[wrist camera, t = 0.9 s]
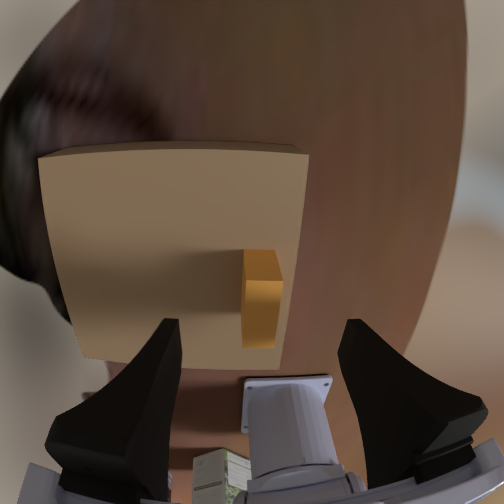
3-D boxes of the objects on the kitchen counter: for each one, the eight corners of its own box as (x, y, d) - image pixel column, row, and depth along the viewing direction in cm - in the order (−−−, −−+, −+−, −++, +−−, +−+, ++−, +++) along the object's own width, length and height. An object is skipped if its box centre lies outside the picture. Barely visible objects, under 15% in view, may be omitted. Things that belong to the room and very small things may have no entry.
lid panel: (277, 363, 21) (284, 403, 17) (86, 351, 20) (70, 387, 16) (306, 153, 14) (327, 167, 11) (43, 156, 13) (4, 172, 10)
